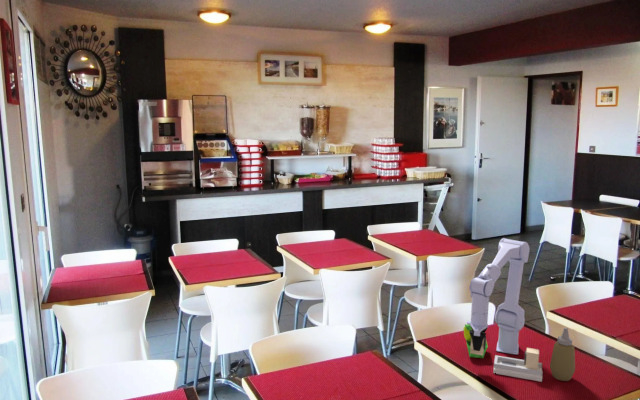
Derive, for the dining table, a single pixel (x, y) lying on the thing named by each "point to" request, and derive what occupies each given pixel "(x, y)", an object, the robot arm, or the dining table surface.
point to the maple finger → (480, 349)
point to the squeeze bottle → (563, 358)
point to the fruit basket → (468, 340)
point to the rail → (520, 366)
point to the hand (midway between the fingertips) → (477, 347)
